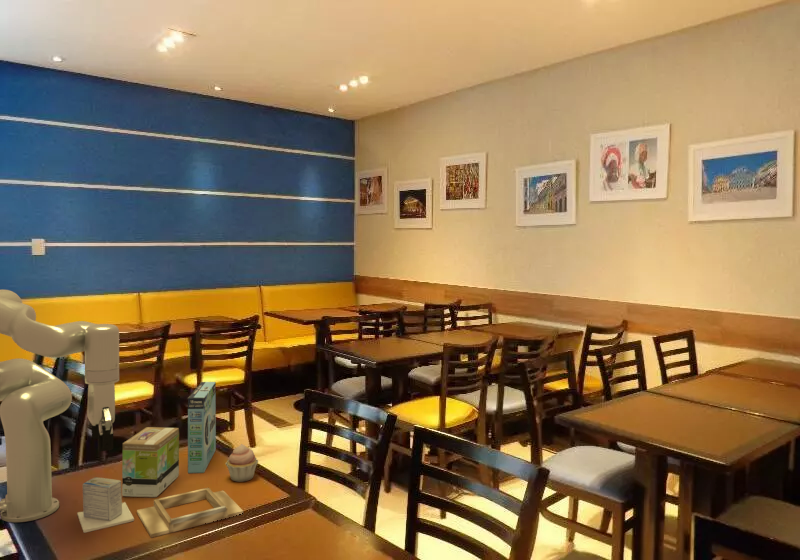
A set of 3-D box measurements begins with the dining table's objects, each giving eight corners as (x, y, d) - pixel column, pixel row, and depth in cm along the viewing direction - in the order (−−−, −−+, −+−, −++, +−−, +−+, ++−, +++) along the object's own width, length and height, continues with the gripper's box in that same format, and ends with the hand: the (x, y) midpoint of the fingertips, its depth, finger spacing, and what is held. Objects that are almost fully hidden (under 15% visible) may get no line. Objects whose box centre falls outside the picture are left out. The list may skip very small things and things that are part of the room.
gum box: (201, 450, 197) (200, 381, 195) (217, 450, 198) (216, 381, 196) (187, 473, 178) (186, 397, 176) (205, 473, 178) (204, 397, 177)
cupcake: (257, 470, 181) (257, 437, 180) (259, 482, 172) (259, 448, 171) (225, 473, 178) (225, 440, 178) (225, 485, 169) (224, 450, 169)
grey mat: (83, 532, 142) (83, 530, 141) (77, 515, 151) (77, 512, 150) (134, 520, 148) (134, 518, 148) (125, 504, 157) (125, 502, 157)
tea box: (158, 498, 161) (157, 443, 160) (121, 497, 161) (120, 443, 160) (180, 476, 176) (179, 426, 175) (146, 475, 176) (145, 425, 175)
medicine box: (122, 513, 150) (122, 479, 150) (109, 522, 146) (109, 487, 145) (96, 509, 152) (95, 476, 152) (82, 517, 148) (81, 483, 147)
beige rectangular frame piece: (151, 538, 139) (151, 525, 139) (137, 513, 152) (136, 501, 152) (243, 514, 152) (243, 502, 152) (223, 493, 164) (223, 482, 164)
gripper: (79, 369, 152) (80, 436, 153) (90, 384, 138) (90, 458, 139) (112, 367, 156) (112, 431, 157) (125, 381, 142) (125, 452, 143)
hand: (102, 444), depth 148 cm, fingers open, 9 cm apart
